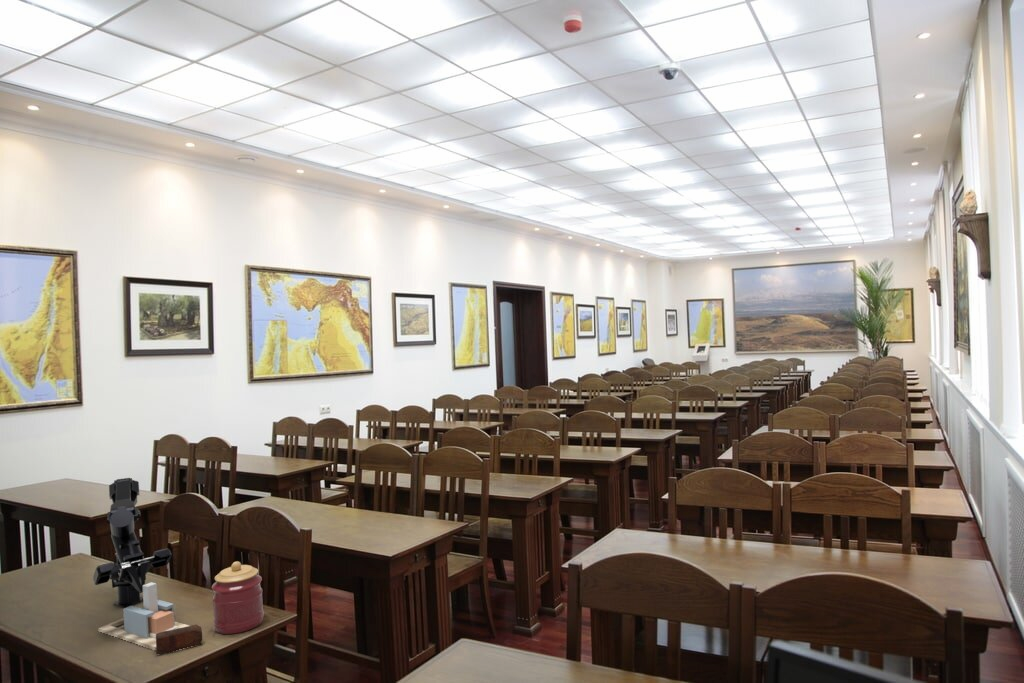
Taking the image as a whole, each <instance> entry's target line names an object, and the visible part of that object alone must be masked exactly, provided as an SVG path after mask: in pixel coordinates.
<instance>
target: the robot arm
mask: <svg viewBox="0 0 1024 683" xmlns="http://www.w3.org/2000/svg"><path fill="white" fill-rule="evenodd" d="M108 492H109V493H108V494H109V495H108V496H109V500H112V504H111V505H110V508H109V509H110V511H108V512H107V515H106V516H107V518H106V522H107V524H106V525H107V526H110V532H111V534H110V537H111V540H112V543H113V546H114V549H115V552H116V555H115V556H114V558H113V561H111V562H108V563H104V564H100V565H97V566H96V568H95V571H94V573H93V578H92V579H93V584H94V585H95V586H98V585H101V584H106V583H108V582H109V581H111V587H112V589H114V588H117V601H114V602H113V603H112V605H113V606H117V607H120V608H123V609H124V608H127V607H129V606H134V605H136V604H139V603H141V601H142V602H143V597H141V594H143V586H142V585H145V584H146V580H147V573H149V571H150V569H151V568H154V569H155V570H156V569H160V568H163V567H164V568H165V567H167V566H168V564H169V562H170V560H171V558H172V555H173V554H172V552H171V551H172V550H170V549H169V548H167V547H166V548H162V549H159V550H155V551H154V552H153V553H152V556H150V557H145V556H144V555H145V554H144V551H142V550H141V546H140V539H138V538H137V535H136V533H135V525H136V521H139V519H140V518H141V510H139V508H138V507H136V505H137V503H138V496H140V483H139V481H138V480H134V479H133V478H131V477H125V478H118V479H116V480H114V482H113V483H111V484H109V485H108ZM144 557H145V558H144ZM138 602H139V603H138ZM133 604H134V605H133Z"/></svg>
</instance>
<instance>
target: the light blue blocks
mask: <svg viewBox="0 0 1024 683" xmlns="http://www.w3.org/2000/svg"><path fill="white" fill-rule="evenodd" d="M163 609H164V610H167V611H171V612H173V615H174V626H175V622H176V617H175V616H176V615H175V603H171V602H168V601H164V600H161V599H158V612H159V611H161V610H163ZM152 615H154V612H152V611H149V610H145V609H144V608H141V607H138V606H135V605H131V606H128V607H126V608H123V618H124V630H125V632H128V633H131V634H134V635H137V636H140V637H143V638H146V639H147V638H149V634H148V617H150V616H152Z"/></svg>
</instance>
